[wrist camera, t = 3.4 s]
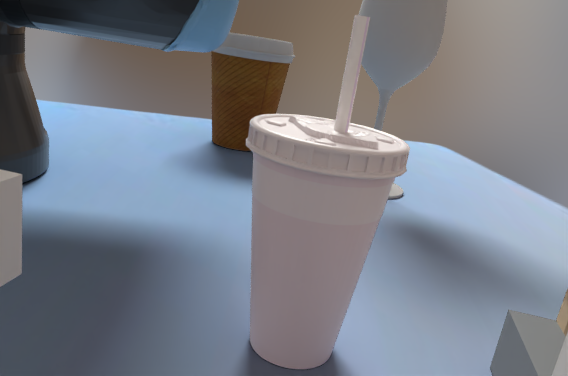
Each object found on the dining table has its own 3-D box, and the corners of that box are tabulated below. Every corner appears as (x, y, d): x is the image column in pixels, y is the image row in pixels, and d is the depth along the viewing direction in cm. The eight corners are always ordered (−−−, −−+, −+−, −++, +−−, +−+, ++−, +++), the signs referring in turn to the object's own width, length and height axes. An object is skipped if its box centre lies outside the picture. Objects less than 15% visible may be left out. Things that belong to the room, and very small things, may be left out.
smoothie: (285, 414, 18) (361, 8, 14) (190, 325, 23) (228, -5, 19) (391, 359, 23) (473, 34, 19) (294, 293, 27) (343, 18, 23)
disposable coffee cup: (200, 130, 63) (211, 29, 59) (276, 140, 64) (292, 42, 60) (194, 148, 54) (207, 30, 50) (284, 160, 55) (302, 45, 51)
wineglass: (353, 171, 55) (395, -39, 49) (417, 192, 51) (473, -35, 45) (312, 179, 49) (354, -58, 43) (381, 204, 45) (439, -55, 39)
